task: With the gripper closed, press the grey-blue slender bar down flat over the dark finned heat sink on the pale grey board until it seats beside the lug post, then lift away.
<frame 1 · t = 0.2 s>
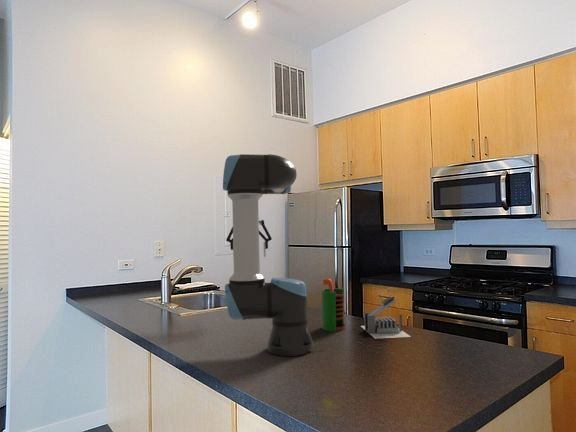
hand: (249, 256, 184), 28 cm above the table, fingers open, 13 cm apart
motor: (333, 331, 159), on the table
mount: (369, 331, 152), resting on board
heatsink: (384, 331, 153), resting on board
board: (384, 333, 153), on the table
grey-blue slender bar: (380, 308, 153), point 10 cm above the table, hinge at 32.0°
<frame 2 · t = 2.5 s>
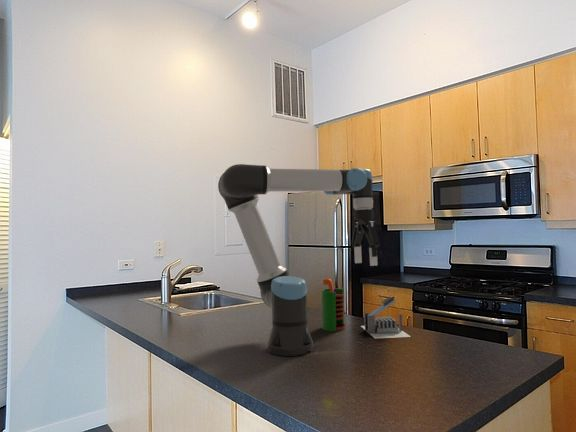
hand: (365, 264, 158), 25 cm above the table, fingers open, 13 cm apart
nothing on the table moved.
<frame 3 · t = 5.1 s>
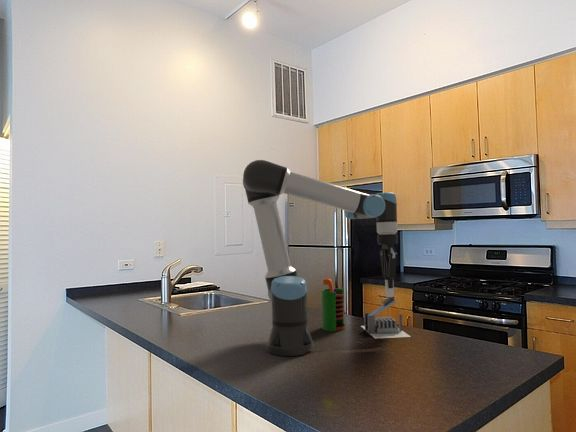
hand: (389, 296, 153), 14 cm above the table, fingers closed
grey-blue slender bar: (380, 308, 153), point 9 cm above the table, hinge at 30.9°, touching gripper
everything else where it was.
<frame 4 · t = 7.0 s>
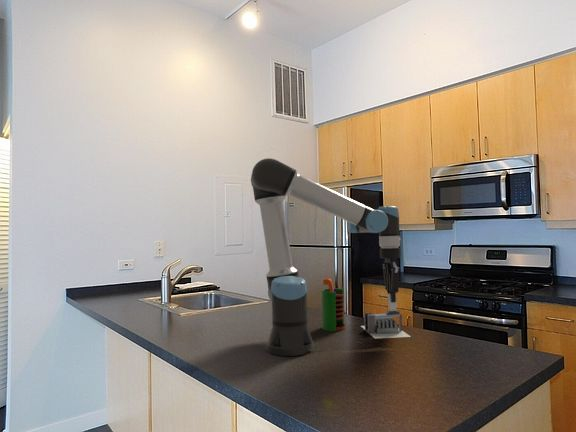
hand: (392, 310, 153), 8 cm above the table, fingers closed
grey-blue slender bar: (382, 314, 153), point 7 cm above the table, hinge at 1.8°, touching gripper
everything else where it was.
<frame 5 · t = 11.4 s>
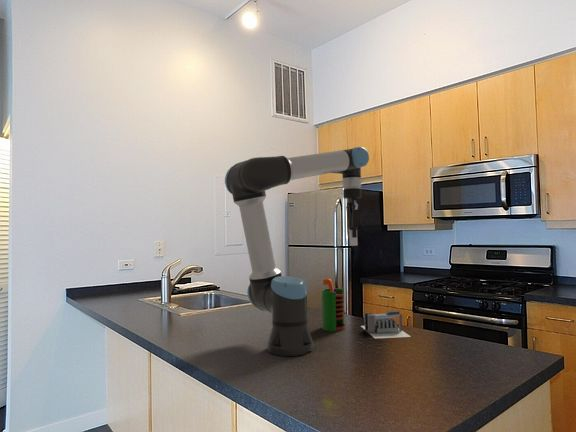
hand: (353, 245, 169), 32 cm above the table, fingers closed
grey-blue slender bar: (382, 314, 153), point 7 cm above the table, hinge at 1.7°
everything else where it was.
at the end: grey-blue slender bar at +2° (first picture: +32°) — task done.
